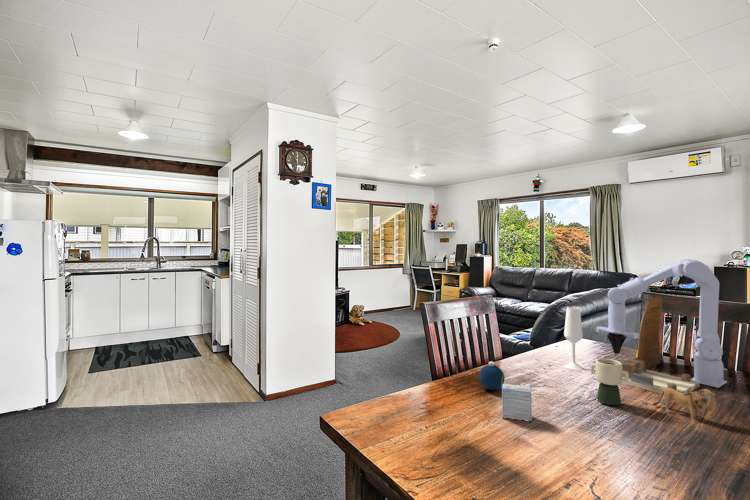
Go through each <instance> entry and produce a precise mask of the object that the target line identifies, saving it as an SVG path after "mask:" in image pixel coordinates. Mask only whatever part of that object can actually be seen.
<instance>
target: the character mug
mask: <svg viewBox="0 0 750 500" xmlns="http://www.w3.org/2000/svg"><path fill="white" fill-rule="evenodd" d="M622 363H623V362H621V361H619V360H616V359H612V358H596V359H595V363H594V362H593V363H590V370H589V371H590V373H591V374H593V375H595V380H596V381H597V382H598V383H599V385H598V388H597V395H596V396H597V397H596V398H597V401H598V402H600V403H602V404H605V405H611V406H616V405H620V404H621V403H622V401H621V393H620V388H619V385H621V384H623V383H622V381H623V382H628V381H629V376H628V372H627V371H623V370H622ZM622 374H625V379H624V378H622Z"/></svg>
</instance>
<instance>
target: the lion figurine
mask: <svg viewBox="0 0 750 500" xmlns="http://www.w3.org/2000/svg"><path fill="white" fill-rule="evenodd" d="M663 397H664V398H663ZM672 401H674V402H675V403H676V404H677V405H679V406H681V407H683V408H686V409H687V408H688V409H689V412H690V418H691V421H692V422H695V423H698V421H699V420H700V419H701V418H700V416H698V415H697V414H698V412H705V411H707V410H709V409H712V408H714V407H715V406H716V403H717V401H716V397H715V393H713V392H712V391H711V390H709V389H704V388H702V389H699V390H695V391H694V390H693V391H691V392H689V393H687V394H683V393H680V392H678V391H676V390H674V389H672V388H665V389H664V390H663V391H662V392H661V393H660V395H659V398H658V400H657V401H656V402H653V403H652V405H653V406H657V405H659V404H660V402H661V406H662V407H663V408H665V412H667V414H672V413H673V410H671V409H670V408H669V406H670V403H671V402H672Z"/></svg>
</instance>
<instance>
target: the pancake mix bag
mask: <svg viewBox="0 0 750 500" xmlns="http://www.w3.org/2000/svg"><path fill="white" fill-rule="evenodd" d="M663 301H664V300H663V297H661V296H660V295H657V296H655V297H653V298H649V299H647V300H646V304H645V309H644V312H643V315H642V318H641V321H640V327H639V328H640V329H639V332H638V333H639V338H638V346H637V350H636V355H635V359H636V358H641V359H645V360H646V369H650V368H653V367H655V366H657V365H660V364H661V361H660V360H661V359H660V358H661V352H660V350H661V349H660V328H661V327H660V326H661V318H662V312H663V311H662V309H663V305H664V304H663V303H664V302H663Z"/></svg>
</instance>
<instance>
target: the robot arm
mask: <svg viewBox="0 0 750 500" xmlns="http://www.w3.org/2000/svg"><path fill="white" fill-rule="evenodd" d="M683 276H685V277H687V278H689V279H691V280H693V281H694V282H695V283H696V284H697V285H698V286H699V287H700V289H699V290H700V291H699V309H698V310H699V314H698V329H697V332H696V337H695V339H694V340H692V341H693V342H692V346H693V348H694V349H695V351H696V352H695V353H693V375H694V376H693V377H691V380H692V381H696V382H699V385H700V384H701V385H705V386H708V387H713V388H717V389H719V388H721V387H722V386H723V385H725V384H727V383H728V381H727V380H724V363H723V361H722V356H723V355H724V351H723V348H722V346H721V343H720V342H721V339H720V337H719V333H718V330H719V329H718V325H719V324H718V323H719V305H720V304H719V300H720V298H719V297H720V281H719V280H718V278H717V277H716V275H715V274H714V273H713V272H712V271H711V268H710V266H709V265H707V264H705V263H703V262H702V261H700V260H696V259H684V260H681V261H678V262H676V263H673V264H669V265H667V266H665V267H663V268H661V269H659V270H657V271H655V272H653V273H651V274H649V275H647V276H645V277H643V278H641V277H635V278H634V277H630V278H629V280H628V281H625V282H623V283H622V284H620V283H619V284H617V285H616V286H617V287H613V288H611V289H608V292H607V295H606V296H607V297H608V307H607V311H608V313H607V316H608V319H607V321H608V322H607V323H608V324H607V325H608V327H607V326H600V325H599V326H596V328H595V329H596V330H595V331H596V333H597V332H598V333H600V332H601V333H604V334H606V335H607V339H608V341H609V342H610V344H611V348H612V351H613V354H616V355H618V354H620V353H621V350H622V348H623V344H624V342H625V341H626V339H627V338H633V339H637V340H638V339H639V333H640V332H635V331H631V330H627V329H626V328H627V327H626V323H627V321H626V318H627V317H626V315H627V314H626V313H627V312H626V311H627V310H626V309H627V308H626V301H627V299H631V298H633V297H635V296H638V295H640V294H642V293H645V292H646V291H647V290H648V287H650V286H652V285H654V284H656V283H659V282H661V281H663V280H666V279H668V278H671V277H681V278H682V277H683Z"/></svg>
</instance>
